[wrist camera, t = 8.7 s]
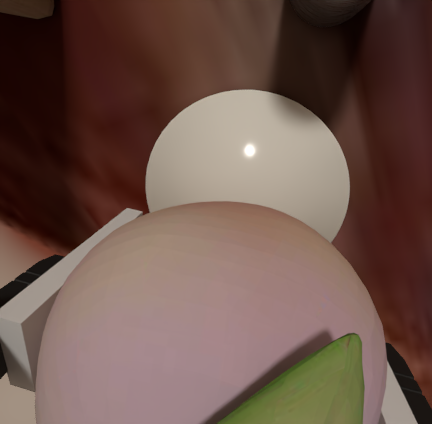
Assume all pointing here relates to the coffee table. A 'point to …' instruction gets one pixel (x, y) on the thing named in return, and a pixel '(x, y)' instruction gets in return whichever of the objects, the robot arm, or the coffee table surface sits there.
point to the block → (28, 8)
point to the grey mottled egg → (327, 11)
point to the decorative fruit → (212, 326)
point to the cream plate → (251, 159)
